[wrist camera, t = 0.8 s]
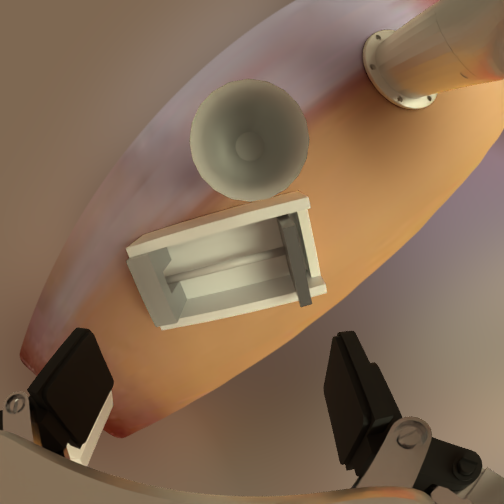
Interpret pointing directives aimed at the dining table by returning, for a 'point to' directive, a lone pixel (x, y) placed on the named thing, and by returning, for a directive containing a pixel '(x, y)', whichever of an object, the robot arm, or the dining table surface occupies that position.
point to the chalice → (249, 140)
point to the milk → (91, 435)
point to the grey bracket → (219, 250)
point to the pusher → (289, 249)
